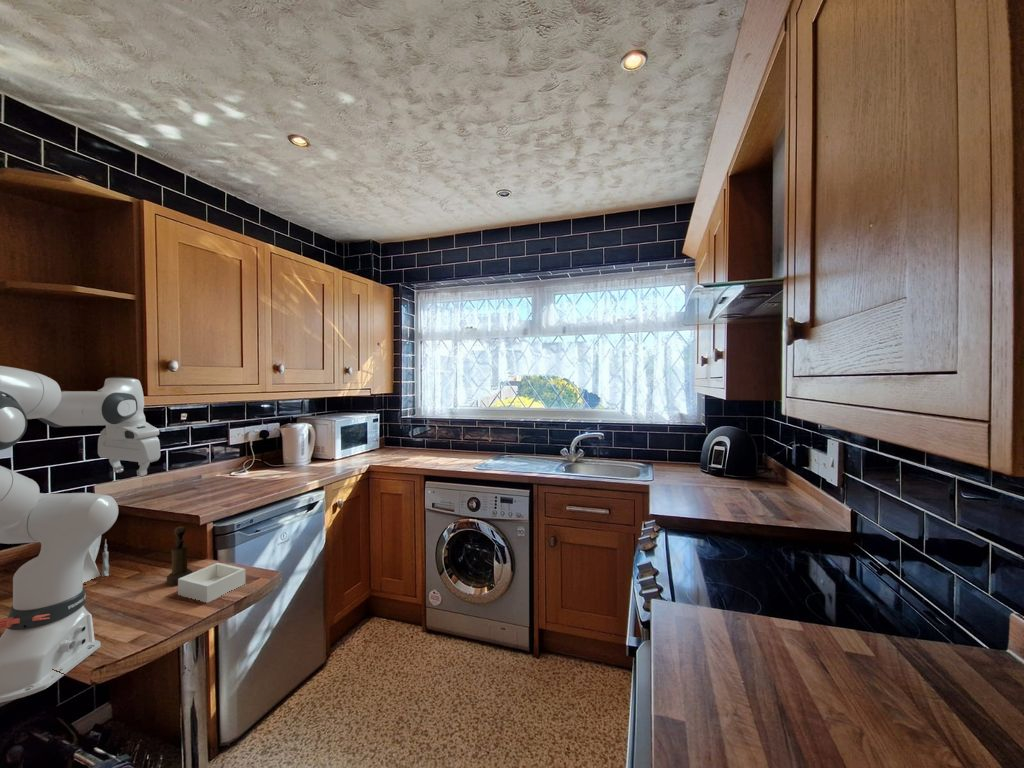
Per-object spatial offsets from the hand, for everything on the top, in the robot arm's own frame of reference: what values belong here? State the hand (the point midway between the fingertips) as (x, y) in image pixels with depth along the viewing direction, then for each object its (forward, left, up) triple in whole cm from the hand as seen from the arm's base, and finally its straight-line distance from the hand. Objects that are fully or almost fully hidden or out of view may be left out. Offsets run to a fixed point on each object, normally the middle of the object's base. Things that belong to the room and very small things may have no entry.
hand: (130, 473), depth 125 cm
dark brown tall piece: (+6, -11, -38) cm, 40 cm away
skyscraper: (+17, +18, -38) cm, 46 cm away
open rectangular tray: (-4, -23, -38) cm, 44 cm away
